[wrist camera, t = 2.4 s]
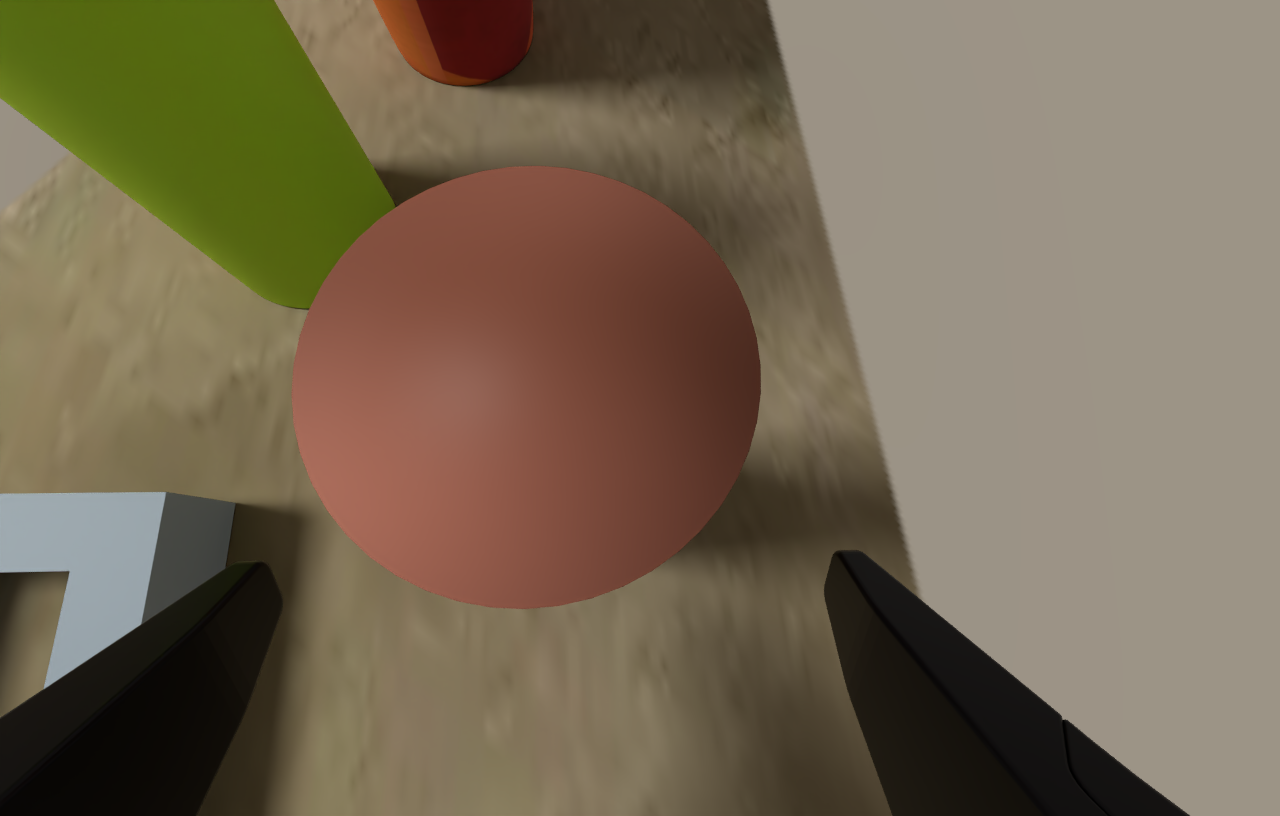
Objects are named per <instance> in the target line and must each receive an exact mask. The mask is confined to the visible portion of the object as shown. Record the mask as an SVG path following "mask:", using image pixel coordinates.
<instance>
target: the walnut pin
mask: <svg viewBox="0 0 1280 816" xmlns="http://www.w3.org/2000/svg"><path fill="white" fill-rule="evenodd" d="M760 395H761V371H760V359H759V352H758V344H757V338H756V334H755V331H754V327H753V323H752V320H751V316H750V313H749V310H748V308H747V305H746V303H745V301H744V298H743V296H742V294H741V291H740V289H739V287H738V285H737V283H736V282H735V280H734V278H733V277H732V275H731V273H730V272H729V270H728V268H727V266H726V265H725V263H724V262H723V261H722V259H721V258H720V257H719V255H718V254H717V253H716V252H715V250H714V249H713V248H712V247H711V245H710V244H709V243H708V241H707V240H705V239H704V238H703V237H702V236H701V235H700V234H699V233H698V232H697V231H696V230H695V229H694V228H693V227H692V226H691V225H690V224H689V223H688V222H687V221H686V220H684V219H683V218H682V217H680V216H679V215H678V214H677V213H675V212H674V211H673V210H671V209H670V208H669V207H668V206H666V205H664V204H663V203H661V202H659V201H658V200H656V199H654V198H652V197H651V196H649V195H647V194H646V193H644V192H642V191H640V190H637V189H635V188H633V187H631V186H628V185H626V184H624V183H622V182H619V181H616V180H613V179H610V178H607V177H604V176H600V175H597V174H594V173H589V172H584V171H579V170H574V169H569V168H559V167H546V166H522V167H507V168H500V169H493V170H486V171H481V172H477V173H474V174H470V175H466V176H462V177H458V178H455V179H453V180H450V181H447V182H445V183H442V184H440V185H437V186H435V187H432V188H429V189H428V190H426V191H424V192H422V193H420V194H418V195H416V196H414V197H412V198H410V199H409V200H407V201H405V202H403V203H402V204H400V205H399V206H397V207H396V208H394V209H393V210H392V211H390V212H389V213H387V214H386V215H384V216H383V217H381V218H380V219H379V220H378V221H377V222H375V223H374V224H373V225H372V226H371V227H370V228H369V229H367V230H366V231H365V232H364V233H363V234H362V235H361V236H359V237H358V239H357V240H356V241H355V242H354V243H353V244H352V245H351V246H350V248H349V249H348V250H347V251H346V252H345V253H344V254H343V255H342V256H341V258H340V259H339V260H338V262H337V263H336V265H335V266H334V267H333V269H332V270H331V272H330V273H329V275H328V276H327V278H326V279H325V280H324V282H323V284H322V286H321V288H320V289H319V291H318V293H317V295H316V297H315V299H314V301H313V303H312V305H311V307H310V309H309V312H308V315H307V317H306V320H305V323H304V326H303V328H302V331H301V334H300V338H299V342H298V347H297V352H296V356H295V361H294V368H293V382H292V406H293V420H294V427H295V432H296V436H297V441H298V445H299V450H300V454H301V457H302V459H303V462H304V464H305V467H306V470H307V472H308V475H309V478H310V480H311V483H312V484H313V486H314V488H315V490H316V492H317V493H318V495H319V497H320V499H321V500H322V502H323V504H324V506H325V507H326V509H327V511H328V512H329V513H330V514H331V516H332V517H333V518H334V520H335V521H336V522H337V523H338V525H339V526H340V527H341V528H342V530H343V531H344V532H345V534H346V535H347V536H348V537H349V538H350V539H351V540H352V541H354V542H355V543H356V544H357V545H358V546H359V547H360V548H361V549H362V550H363V551H364V552H365V553H366V554H367V555H368V556H369V557H371V558H372V559H374V560H375V561H376V562H378V563H379V564H381V565H382V566H384V567H385V568H386V569H388V570H389V571H391V572H392V573H393V574H395V575H396V576H398V577H400V578H402V579H404V580H406V581H408V582H410V583H412V584H414V585H416V586H418V587H420V588H422V589H424V590H426V591H429V592H432V593H435V594H438V595H441V596H444V597H447V598H450V599H453V600H456V601H460V602H465V603H470V604H476V605H481V606H486V607H494V608H516V609H529V608H540V607H551V606H560V605H564V604H569V603H573V602H578V601H582V600H586V599H591V598H594V597H596V596H599V595H602V594H604V593H607V592H610V591H612V590H615V589H618V588H620V587H623V586H625V585H627V584H628V583H630V582H632V581H634V580H636V579H638V578H640V577H641V576H643V575H645V574H647V573H649V572H651V571H653V570H654V569H655V568H657V567H658V566H659V565H661V564H662V563H664V562H665V561H666V560H668V559H669V558H670V557H672V556H673V555H675V554H676V553H677V552H679V551H680V550H681V549H682V548H683V547H684V546H685V545H686V544H687V543H688V542H689V541H690V540H691V539H692V538H693V537H694V536H695V535H697V534H698V533H699V532H700V531H701V530H702V529H703V527H704V526H705V525H706V524H707V522H708V521H709V520H710V519H711V517H712V516H713V515H714V514H715V512H716V511H717V510H718V509H719V507H720V506H721V505H722V503H723V501H724V500H725V498H726V496H727V495H728V493H729V491H730V490H731V488H732V486H733V485H734V483H735V481H736V480H737V478H738V476H739V473H740V471H741V469H742V466H743V464H744V462H745V459H746V457H747V455H748V452H749V449H750V446H751V442H752V438H753V435H754V431H755V427H756V424H757V418H758V410H759V402H760Z"/></svg>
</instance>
